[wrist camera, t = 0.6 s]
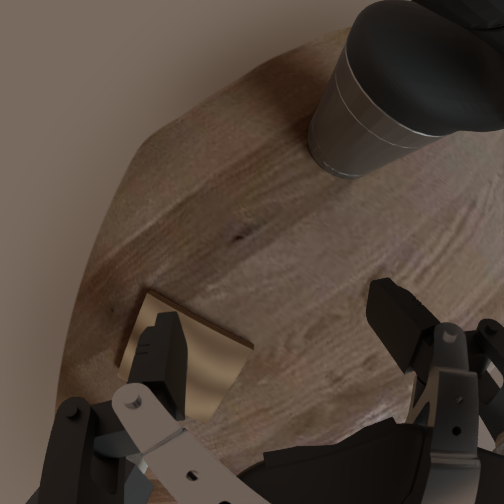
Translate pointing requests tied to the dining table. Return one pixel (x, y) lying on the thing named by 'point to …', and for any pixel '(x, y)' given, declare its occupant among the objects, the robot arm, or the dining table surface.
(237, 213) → the dining table surface
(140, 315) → the post
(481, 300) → the dining table surface
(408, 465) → the robot arm
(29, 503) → the collar
